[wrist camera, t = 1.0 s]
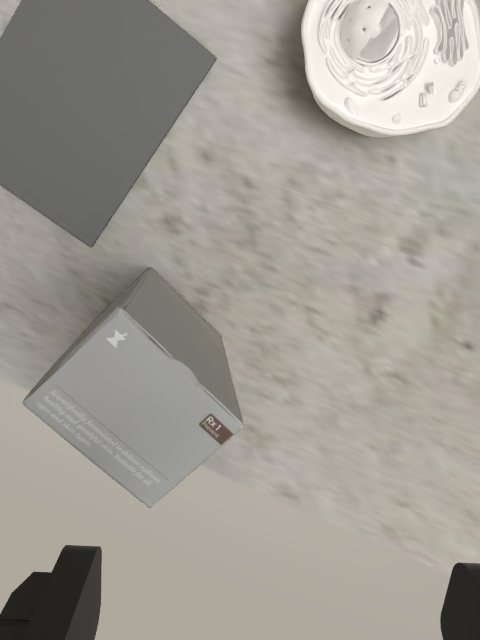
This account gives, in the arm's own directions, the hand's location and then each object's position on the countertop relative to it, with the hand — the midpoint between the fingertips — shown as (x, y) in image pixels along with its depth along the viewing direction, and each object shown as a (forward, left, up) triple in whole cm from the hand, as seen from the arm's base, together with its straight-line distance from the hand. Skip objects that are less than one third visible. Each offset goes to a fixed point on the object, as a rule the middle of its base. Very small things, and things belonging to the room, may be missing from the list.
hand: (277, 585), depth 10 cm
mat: (-6, -18, -26) cm, 32 cm away
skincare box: (+4, -4, -26) cm, 27 cm away
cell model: (-20, -3, -26) cm, 33 cm away
